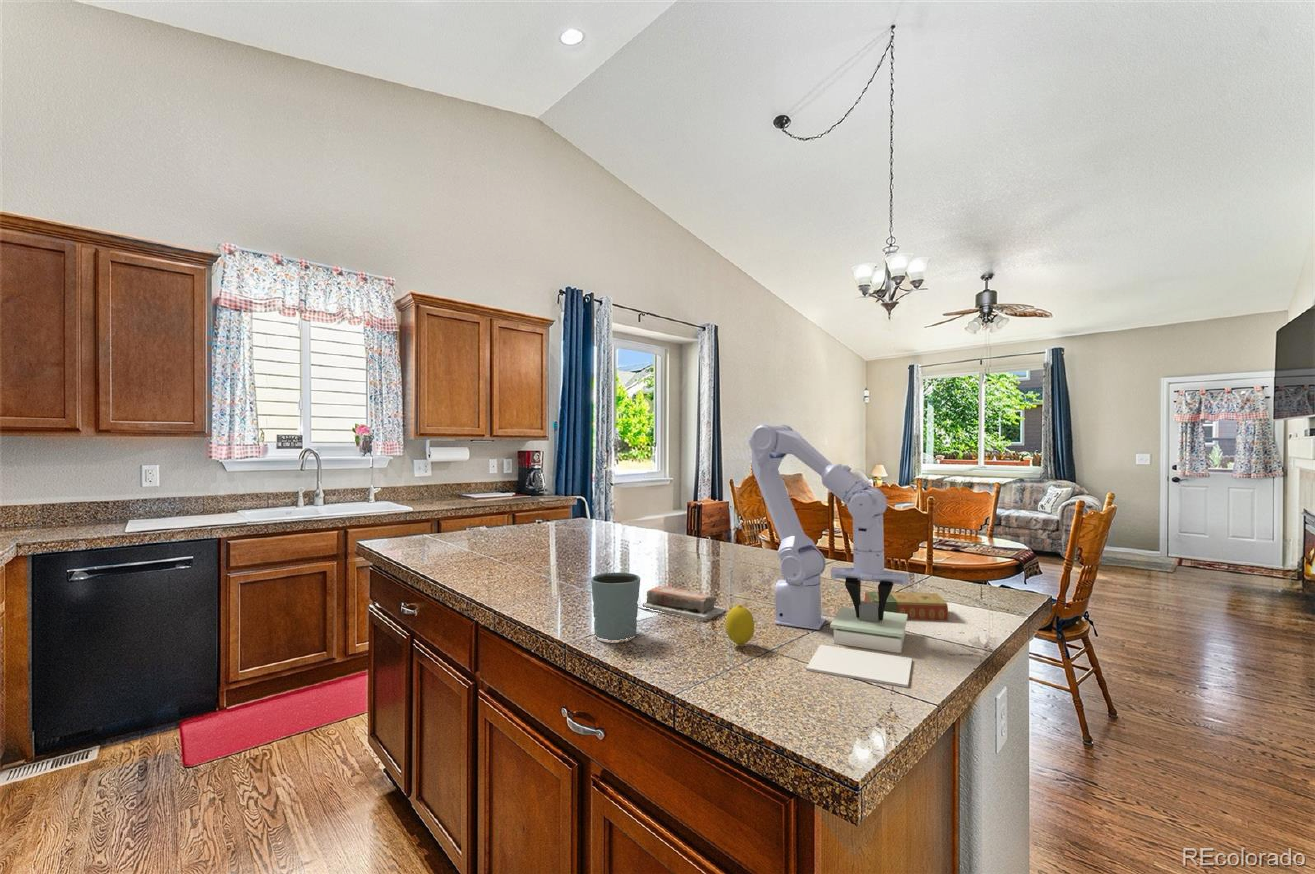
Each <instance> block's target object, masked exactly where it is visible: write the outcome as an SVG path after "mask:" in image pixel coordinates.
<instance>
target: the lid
mask: <svg viewBox="0 0 1315 874" xmlns="http://www.w3.org/2000/svg"><path fill="white" fill-rule="evenodd" d="M878 612H879V603H877V602H868V601H865V600H861V603H860V605H859V618H857V617H856V611H855V607H850V606H849V607H848V606H840V608H839V610H838V611H837V613H836V615H835V616H834V618H833V619H832V621H831V622H830V625H829V626H830V627H829V628H830V629H831V628H832V629H835V628H838V629H840V630H845V631H852V632H859V633H866V634H874V635H881V636H888V637H895V636H896V637H903V636H904V632H905V633H906V627H907V622H908V619H907V618H908V614H901V613H893V612H885V611H884V615H883V620H882V621H881V620H879V617H878Z"/></svg>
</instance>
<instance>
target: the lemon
mask: <svg viewBox="0 0 1315 874" xmlns="http://www.w3.org/2000/svg"><path fill="white" fill-rule="evenodd" d="M752 614H753V613H752V612H751V611H750V610H749V609H748V608H747V607H745V606H743V605H742V604H737V605H735V606H734V607H732V608H731V609H730V610H729V611H728V612H727V615H726V618H725V631H726V635H727V637H728V638H729V639H730V641H732V642H733V643H735V644H737V646H739V647H742V646H744V644H746V643H748V642H749V641H750V640H751V639H752V638H753V636H754V633H755V622H754V621H755V620H754V618H753V615H752Z"/></svg>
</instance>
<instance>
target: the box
mask: <svg viewBox="0 0 1315 874" xmlns="http://www.w3.org/2000/svg"><path fill="white" fill-rule="evenodd" d="M905 637H906V631H905V632H904V636H903V637H896V636H895V637H888V636H881V635H874V634H866V633H859V632H852V631H845V630H840V629H838V628H833V644H835V645H843V646H850V647H857V648H865V649H870V650H876V651H884V652H890V653H898V654H902V650H903V645H904V641H905Z"/></svg>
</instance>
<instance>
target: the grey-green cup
mask: <svg viewBox="0 0 1315 874" xmlns="http://www.w3.org/2000/svg"><path fill="white" fill-rule="evenodd" d="M590 584H591V585H590V586H591V596H592V603H593V604H592V612H593V618H594V621H593V624H594V625H593V626H594V629H593V630H594V636H595V635H596V636H597V637H599V638H603V639H608V640H620V639H626V638H630V637H633V636H635V634H636V635H637V630H638V628H637V627H638V622H637V621H638V619H637V618H638V613H639V611H638V610H639V604H638V601H639V598H640V587H641V577H640V576H639V575H637V574H635V573H629V572H606V573H599V574H596V575H592V577H591V578H590ZM635 637H636V636H635Z"/></svg>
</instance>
